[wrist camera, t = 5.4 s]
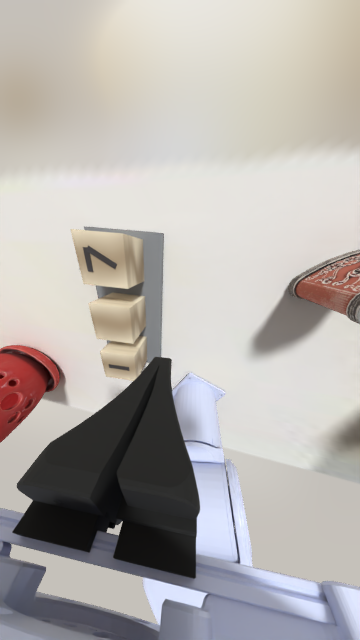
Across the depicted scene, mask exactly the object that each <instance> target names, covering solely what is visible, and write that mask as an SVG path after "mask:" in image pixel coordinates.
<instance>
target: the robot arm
mask: <svg viewBox="0 0 360 640" xmlns="http://www.w3.org/2000/svg"><path fill="white" fill-rule="evenodd" d="M171 361H172V360H171V359H170V358H162V357H154V359H153V360H152V361H151V362H150V364H149V365H148V366H147V367H146V368H145V369H144V371H143V372H142V373H141V374H140V375H139V376H138V377H137V378H136V379H135V380H134V381H133V382H132V383H131V384H130V385H129V386H128V387H127V388H126V389H125V390H124V391H123V392H121V393H120V394H119V395H118V396H117V397H116V398H114V399H113V400H112V401H111V402H109V403H108V404H107V405H106V406H104V407H103V408H102V409H101V410H99V411H98V412H96V413H95V414H94V415H92V416H91V417H89V418H88V419H86V420H85V421H84V422H82V423H81V424H79V425H78V426H76V427H75V428H73V429H71V430H70V431H68V432H67V433H65V434H63V435H62V436H60V437H59V438H57V439H56V440H54V441H52V442H51V443H50V444H49V445H48V446H47V447H46V448H45V449H44V450H43V452H42V453H41V454H40V455H39V456H38V458H37V459H36V460H35V462H34V463H33V464H32V465H31V467H30V468H29V469H28V470H27V472H26V473H25V474H24V476H23V477H22V478H21V479H20V481H19V482H18V483H17V488H18V490H19V491H21V492H22V493H23V494H25V495H26V496H28V497H29V498H31V499H32V500H33V502H32V503H31V505H30V506H29V508H28V509H27V511H26V512H25V514H24V513H20V512H16V511H12V510H7V509H3V508H0V640H360V587H358V586H353V585H349V584H344V583H340V582H334V581H323V582H322V583H319V582H315V581H311V580H306V579H302V578H297V577H293V576H289V575H285V574H281V573H276V572H272V571H268V570H263V569H259V568H255V567H253V565H252V559H251V558H252V550H251V544H250V538H249V532H248V526H247V520H246V515H245V509H244V504H243V499H242V494H241V488H240V483H239V478H238V474H237V469H236V467H235V465H234V464H233V463H232V462H231V460H230V459H226V464H227V472H226V466H225V459H224V454H223V449H222V442H221V435H220V427H219V420H218V413H217V405H216V401H217V400H219V399H220V398H222V397H223V396H224V395H225V391H223V390H221V389H220V388H218V387H216V386H214V385H212V384H210V383H209V382H207V381H205V380H203V379H201V378H199V377H198V376H196V375H194V374H192V373H189V374H188V375H187V376H186V377H185V378H184V379H183V380H182V381H181V382H180V383H179V384H178V385H177V386H176V387H175V388H174V389H173V390H172V387H171ZM189 377H190V378H189ZM227 476H228V479H227ZM228 483H229V486H228ZM122 521H123V523H122V527H121V530H120V534H119V536H118V535H114V534H110V533H106V532H107V529H108V528H112V529H113V528H115V525H118V524H120V523H121V522H122ZM234 525H235V529H234ZM10 543H11V544H15V545H19V546H23V547H26V548H31V549H34V550H39V551H42V552H47V553H50V554H54V555H58V556H62V557H66V558H70V559H74V560H78V561H82V562H86V563H90V564H93V565H98V566H101V567H106V568H109V569H113V570H117V571H121V572H125V573H129V574H133V575H136V576H141V577H143V587H144V591H145V593H146V596H147V599H148V601H149V603H150V606H151V609H152V611H153V613H154V616H155V618H156V620H157V623H158V625H157V624H154V623H151V622H148V621H145V620H142V619H138V618H136V617H133V616H129V615H126V614H123V613H120V612H116V611H113V610H109V609H106V608H102V607H98V606H94V605H90V604H86V603H82V602H78V601H74V600H70V599H66V598H61V597H57V596H53V595H49V594H45V593H40V592H36V591H37V588H38V586H39V584H40V582H41V580H42V578H43V576H44V574H45V572H46V567H44V566H40V565H37V564H34V563H29V562H26V561H21V560H17V559H12V558H10V556H9V555H10V551H11V544H10Z"/></svg>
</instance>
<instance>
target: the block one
mask: <svg viewBox="0 0 360 640" xmlns="http://www.w3.org/2000/svg"><path fill="white" fill-rule="evenodd" d="M100 354H101V358H102V362H103V366H104V370H105V375H106V377H112V378H118V379H125V380H131V381H134V380H135V379H136V378H137V377H138V376H139V375H140V373H141V371H142V369H143V367H144V365H145V363H146V361H147V337H144V336H138V338H137V339H136V340H135V342H134V343H133V344H131V343H124V342H117V341H110V342H109V343H108V344H107V345H106V346H105V347H104V348H103V349H102V350H101V351H100Z"/></svg>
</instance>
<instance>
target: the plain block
mask: <svg viewBox="0 0 360 640" xmlns="http://www.w3.org/2000/svg"><path fill="white" fill-rule="evenodd" d="M88 304H89V308H90V312H91V316H92V321H93V325H94V329H95V333H96V337H97V339H102V340H110V341H117V342H124V343H131V344H133V343H134V342H135V340H136V339H137V338H138V336H139V335H140V333H141V332H142V331H143V329H144V328H145V326H146V310H145V296H139V295H130V294H121V293H110V294H108V295H106V296H104V297H101V298H99V299H97V300H95V301H92V302H90V303H88Z"/></svg>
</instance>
